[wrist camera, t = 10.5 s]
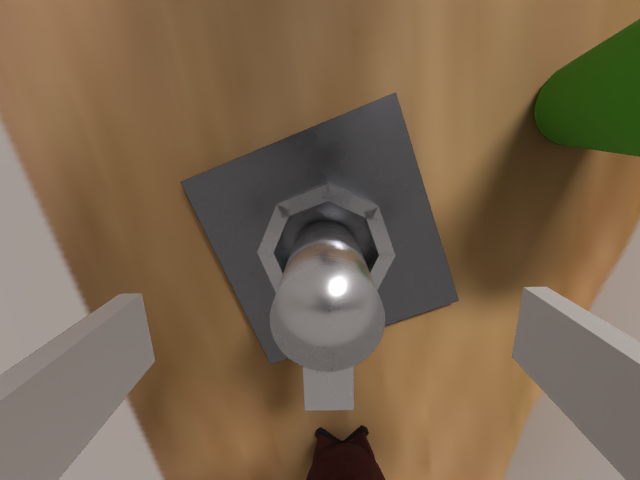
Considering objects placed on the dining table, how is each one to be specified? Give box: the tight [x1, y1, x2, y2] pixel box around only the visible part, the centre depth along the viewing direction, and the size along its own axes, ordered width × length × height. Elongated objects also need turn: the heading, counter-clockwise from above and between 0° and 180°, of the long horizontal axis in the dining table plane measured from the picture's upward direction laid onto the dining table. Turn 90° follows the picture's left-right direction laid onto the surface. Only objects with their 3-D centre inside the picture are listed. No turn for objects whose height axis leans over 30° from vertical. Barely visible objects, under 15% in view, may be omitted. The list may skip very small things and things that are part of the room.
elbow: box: [270, 221, 385, 411], centre depth 18 cm, size 8×5×10 cm, turn 1°
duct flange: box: [181, 92, 459, 364], centre depth 22 cm, size 16×16×3 cm
